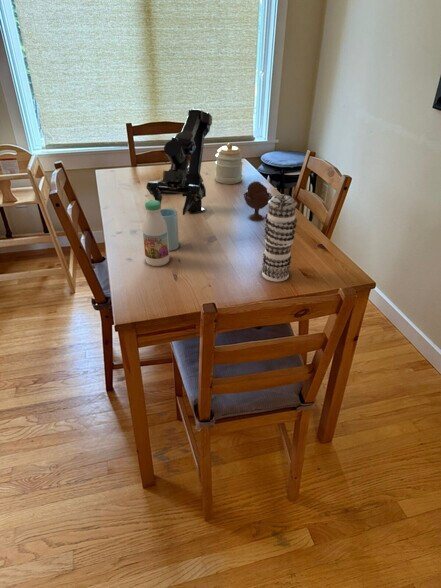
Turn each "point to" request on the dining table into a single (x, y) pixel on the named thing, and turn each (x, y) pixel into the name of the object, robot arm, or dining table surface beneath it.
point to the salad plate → (164, 185)
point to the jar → (229, 164)
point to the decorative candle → (279, 237)
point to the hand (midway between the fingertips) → (170, 213)
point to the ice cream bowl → (256, 198)
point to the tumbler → (171, 227)
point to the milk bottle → (155, 235)
